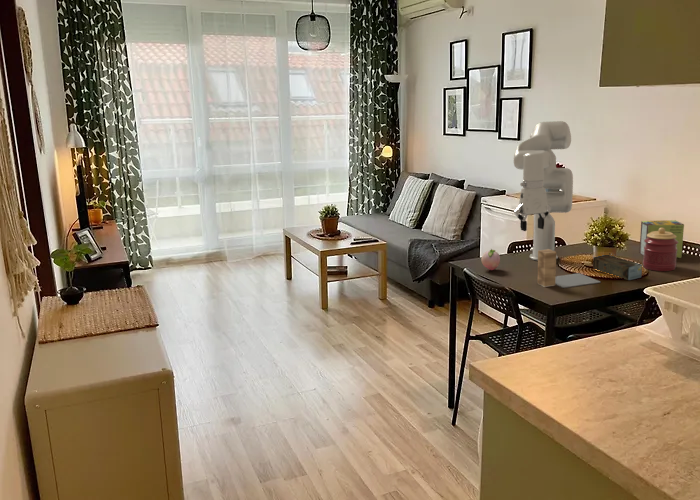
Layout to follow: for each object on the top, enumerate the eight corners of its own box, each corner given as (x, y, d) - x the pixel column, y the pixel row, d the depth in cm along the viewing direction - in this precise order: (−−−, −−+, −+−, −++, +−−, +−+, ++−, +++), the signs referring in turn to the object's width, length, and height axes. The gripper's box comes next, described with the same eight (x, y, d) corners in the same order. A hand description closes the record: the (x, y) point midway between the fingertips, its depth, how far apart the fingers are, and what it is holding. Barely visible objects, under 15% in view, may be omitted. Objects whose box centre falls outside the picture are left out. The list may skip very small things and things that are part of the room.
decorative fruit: (481, 267, 269) (481, 246, 267) (500, 267, 267) (500, 246, 265) (480, 273, 260) (480, 251, 258) (500, 273, 258) (500, 251, 256)
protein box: (682, 257, 267) (684, 224, 264) (645, 258, 270) (648, 225, 266) (673, 252, 277) (676, 219, 274) (638, 252, 280) (640, 220, 276)
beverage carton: (628, 281, 239) (628, 265, 238) (591, 270, 256) (592, 256, 255) (642, 278, 242) (643, 262, 241) (605, 267, 259) (605, 253, 258)
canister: (677, 272, 246) (680, 231, 242) (642, 270, 251) (645, 230, 247) (675, 264, 257) (678, 225, 253) (642, 262, 263) (644, 224, 259)
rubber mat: (542, 279, 247) (543, 278, 247) (579, 274, 251) (579, 273, 251) (563, 288, 234) (563, 287, 234) (600, 282, 238) (600, 281, 238)
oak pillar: (537, 283, 242) (538, 250, 238) (548, 282, 243) (549, 249, 240) (544, 287, 237) (545, 253, 234) (555, 285, 238) (556, 251, 235)
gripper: (518, 187, 223) (517, 233, 227) (558, 183, 227) (557, 229, 231) (508, 185, 230) (507, 230, 234) (547, 181, 234) (546, 225, 238)
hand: (532, 229), depth 233 cm, fingers open, 6 cm apart
